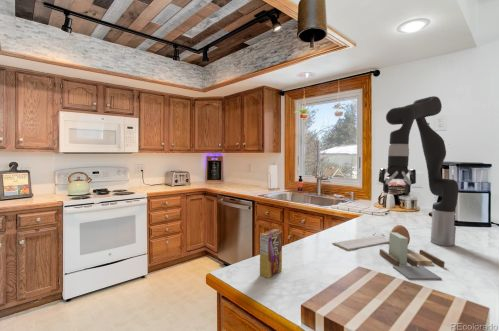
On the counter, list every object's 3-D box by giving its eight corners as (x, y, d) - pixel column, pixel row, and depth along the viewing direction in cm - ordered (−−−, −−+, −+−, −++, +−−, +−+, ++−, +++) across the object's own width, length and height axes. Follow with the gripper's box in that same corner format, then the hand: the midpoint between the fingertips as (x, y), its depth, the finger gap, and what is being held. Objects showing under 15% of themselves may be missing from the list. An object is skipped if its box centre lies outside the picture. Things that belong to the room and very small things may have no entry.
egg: (385, 246, 129) (386, 223, 129) (398, 244, 132) (399, 222, 132) (400, 252, 121) (401, 228, 121) (413, 250, 124) (414, 226, 124)
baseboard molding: (329, 243, 133) (347, 252, 122) (329, 238, 133) (348, 246, 122) (372, 236, 146) (392, 243, 135) (372, 231, 146) (392, 237, 135)
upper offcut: (419, 256, 116) (419, 253, 116) (432, 264, 108) (432, 261, 108) (405, 256, 116) (405, 253, 116) (417, 263, 108) (417, 260, 108)
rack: (421, 255, 118) (422, 249, 118) (444, 267, 105) (444, 261, 105) (379, 254, 118) (379, 249, 118) (396, 267, 105) (396, 261, 105)
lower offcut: (419, 258, 116) (419, 255, 116) (434, 267, 107) (434, 264, 107) (403, 258, 116) (403, 255, 116) (417, 267, 107) (417, 264, 107)
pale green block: (395, 257, 115) (396, 232, 115) (406, 265, 107) (408, 238, 107) (388, 257, 115) (389, 232, 115) (399, 264, 107) (400, 238, 107)
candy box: (272, 267, 102) (273, 228, 102) (282, 270, 100) (283, 230, 99) (258, 274, 96) (259, 233, 95) (268, 278, 93) (269, 236, 92)
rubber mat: (422, 268, 105) (422, 266, 105) (441, 280, 95) (441, 278, 95) (392, 267, 104) (392, 265, 104) (408, 280, 94) (408, 277, 94)
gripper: (410, 155, 115) (408, 192, 115) (377, 154, 115) (375, 191, 116) (421, 155, 107) (418, 195, 108) (385, 154, 108) (383, 194, 108)
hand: (396, 193), depth 112 cm, fingers open, 8 cm apart
